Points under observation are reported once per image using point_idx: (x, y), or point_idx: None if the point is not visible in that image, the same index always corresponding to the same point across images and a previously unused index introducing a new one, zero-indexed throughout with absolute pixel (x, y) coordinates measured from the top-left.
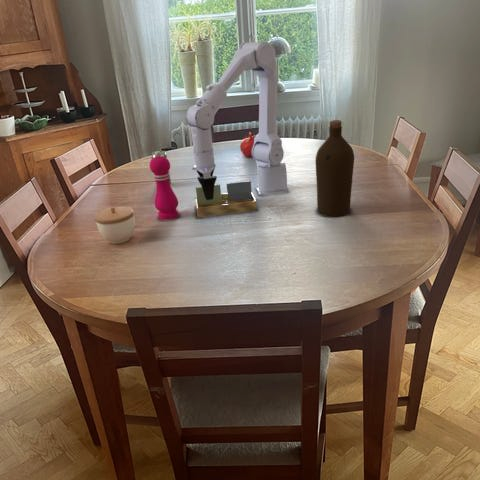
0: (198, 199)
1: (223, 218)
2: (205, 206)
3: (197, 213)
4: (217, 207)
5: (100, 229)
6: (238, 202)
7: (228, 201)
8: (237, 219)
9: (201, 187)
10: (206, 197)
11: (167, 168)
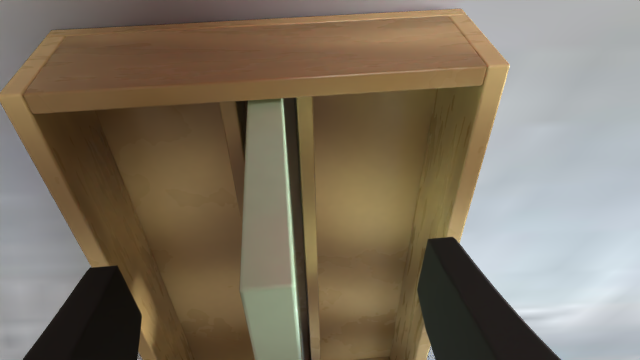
0: (248, 149)
1: (64, 239)
2: (231, 155)
3: (31, 64)
4: None
5: None
6: None
7: None
8: (46, 308)
9: (253, 347)
10: (74, 302)
11: None
